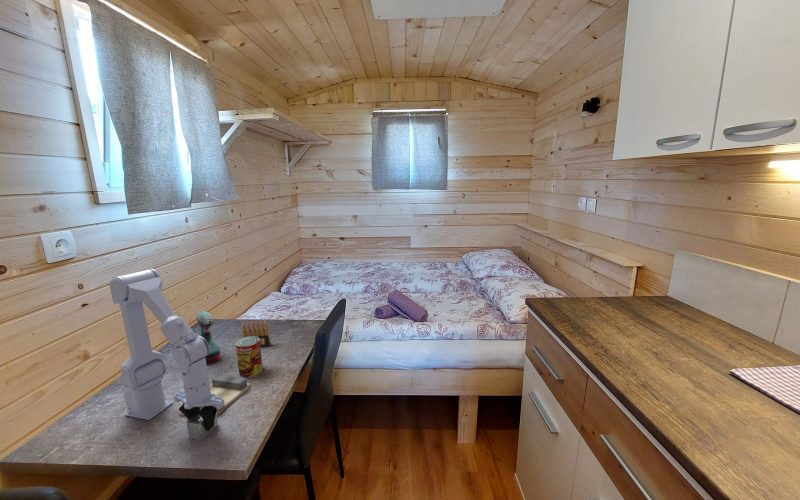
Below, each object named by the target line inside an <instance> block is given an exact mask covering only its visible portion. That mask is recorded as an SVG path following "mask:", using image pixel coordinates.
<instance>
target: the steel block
mask: <svg viewBox="0 0 800 500" xmlns="http://www.w3.org/2000/svg"><path fill="white" fill-rule="evenodd" d="M218 425H219V421H218V416H217V413H216V416H215V421H214V426H213V427H212V428H211V429H210V430H209V431H206V429H205V426H204V422H203V419H202V417H201V416H200V415H199V414H198V413H197V414H195V415H194V416H193V417H192V418H190V419H189V420H188V419H187V421H186V427H187V434H188V439H193V440H196V441H202V440H204V439H205V437H207V436H208V435H209V434H210V433H211V432H212V431H214V429H216V428H217V427H218Z"/></svg>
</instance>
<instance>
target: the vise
mask: <svg viewBox="0 0 800 500" xmlns="http://www.w3.org/2000/svg"><path fill="white" fill-rule="evenodd" d="M211 384H212V385H211V386H210V392H212V393H213V394H215V395H216V396H218V397H220V398H223V399H224V403H225V405H224V406H223V407H222V408H221V409H218V410H217V412H216V413H217V417H219V415H221V414H222V412H224V411H225V410H226V409H227V408H228V407H230V406H231V405H232V404H233V403H234V402H235V401H236V400H237V399H239V398H240V397H241V396H242V395H243V394H244V393H246V391H248V390H249V389H250V388H251V386H252V385H251V384H252V383H248V381H247V378H245V377H239V376H238V377H237V376H231V375H223V374H217V375H216V376H214V377H213V378H211ZM177 414H178V416H184V417H186V416H185V415H184V414H183V413H182V412H180V411H179V410H178V411H177Z"/></svg>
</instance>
